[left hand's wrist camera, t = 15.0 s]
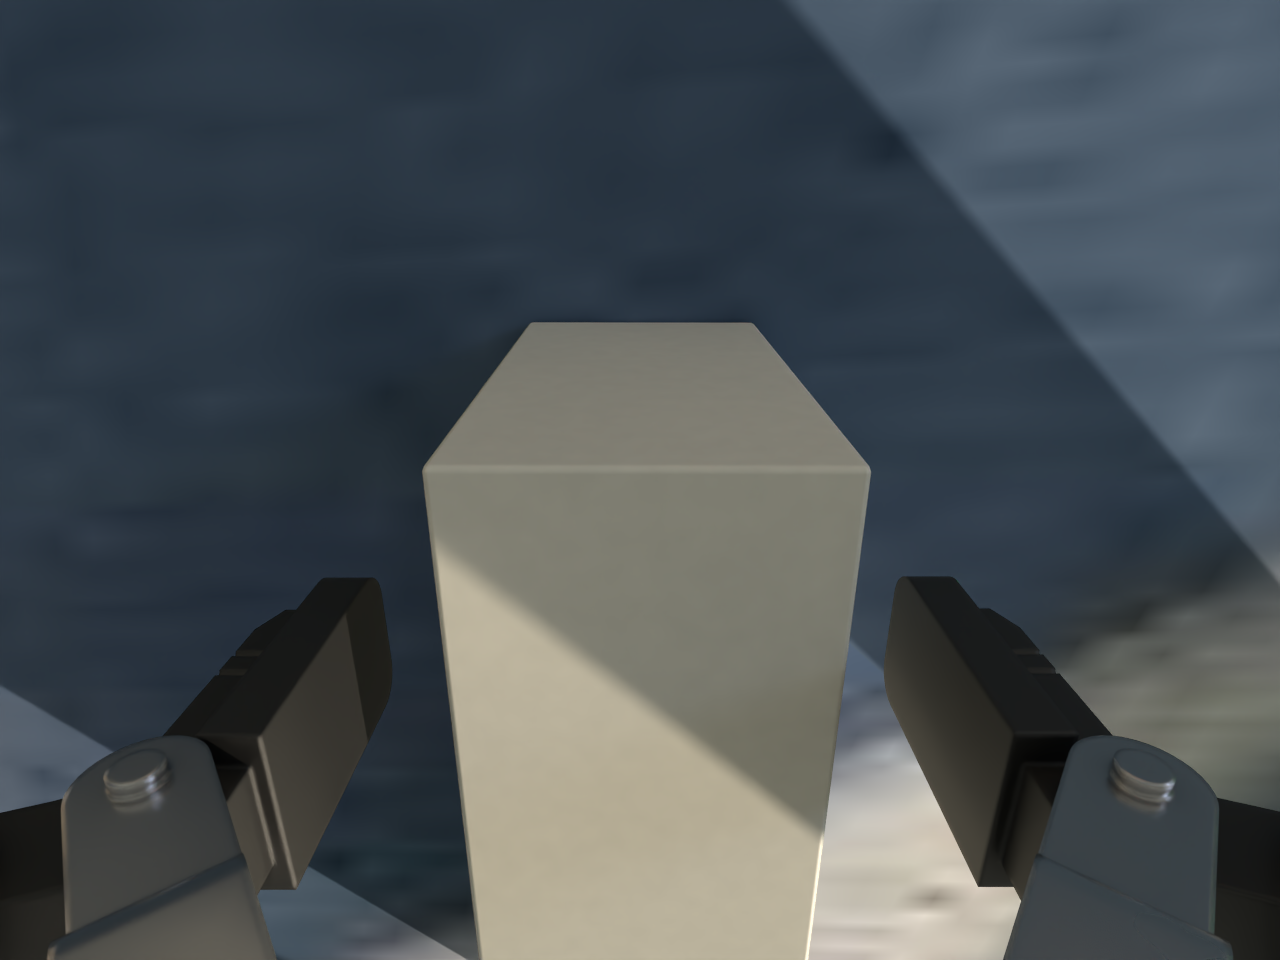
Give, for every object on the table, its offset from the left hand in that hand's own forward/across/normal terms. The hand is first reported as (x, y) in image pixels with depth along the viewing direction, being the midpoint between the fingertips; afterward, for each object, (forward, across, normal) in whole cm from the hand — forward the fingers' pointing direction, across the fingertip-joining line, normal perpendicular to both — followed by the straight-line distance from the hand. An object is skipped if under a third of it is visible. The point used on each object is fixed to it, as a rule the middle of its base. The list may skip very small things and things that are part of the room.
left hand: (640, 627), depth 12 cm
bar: (+8, 0, -9) cm, 12 cm away
